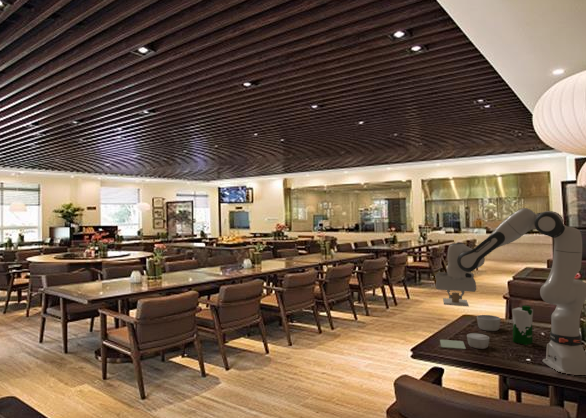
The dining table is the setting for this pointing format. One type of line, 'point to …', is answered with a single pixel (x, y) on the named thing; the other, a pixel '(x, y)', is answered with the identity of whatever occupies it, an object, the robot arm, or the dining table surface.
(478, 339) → the ramekin
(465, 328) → the dining table surface
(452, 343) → the mat
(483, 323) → the ramekin
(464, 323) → the dining table surface
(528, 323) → the milk carton
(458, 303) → the cover
